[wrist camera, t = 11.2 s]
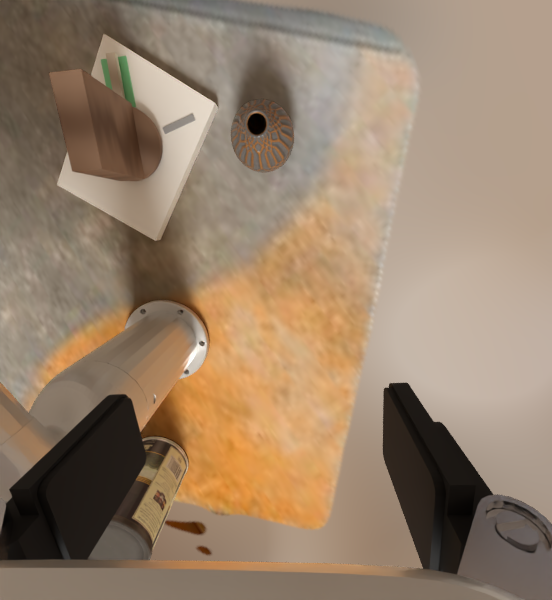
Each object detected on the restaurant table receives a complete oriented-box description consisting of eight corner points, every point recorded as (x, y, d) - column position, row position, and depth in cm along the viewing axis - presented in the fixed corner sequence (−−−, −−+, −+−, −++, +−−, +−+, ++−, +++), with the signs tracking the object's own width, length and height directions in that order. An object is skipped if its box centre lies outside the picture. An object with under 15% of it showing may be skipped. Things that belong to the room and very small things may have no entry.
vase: (227, 134, 35) (206, 108, 27) (277, 101, 34) (270, 63, 26) (255, 186, 37) (244, 177, 28) (304, 157, 35) (306, 138, 27)
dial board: (160, 239, 40) (154, 240, 38) (65, 186, 38) (55, 184, 37) (218, 107, 35) (214, 102, 33) (111, 41, 33) (102, 32, 32)
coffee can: (120, 461, 51) (57, 549, 38) (150, 425, 48) (94, 506, 35) (169, 492, 52) (124, 588, 39) (200, 458, 50) (164, 549, 36)
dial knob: (167, 178, 35) (127, 166, 27) (105, 183, 36) (47, 173, 28) (148, 52, 32) (94, -7, 23) (80, 60, 32) (4, 5, 24)
